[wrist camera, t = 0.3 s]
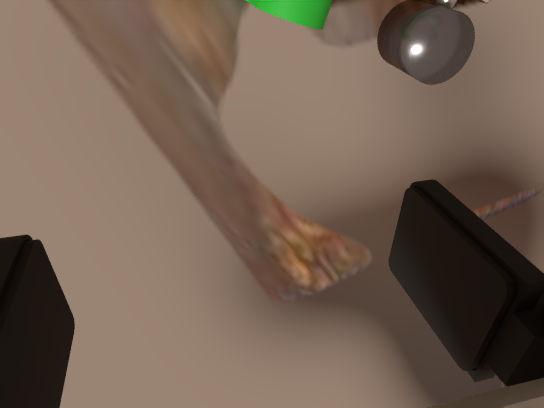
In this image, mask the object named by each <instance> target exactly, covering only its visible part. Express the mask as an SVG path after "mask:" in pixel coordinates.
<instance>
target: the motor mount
mask: <svg viewBox="0 0 544 408" xmlns="http://www.w3.org/2000/svg"><path fill="white" fill-rule="evenodd" d="M457 1H458V0H436V2H435V3H434V4H430V3H427V2H423V1H419V0H407V1H404V2H402V3H400V4H398V5H397V6H395V7H394V8H393V9H392V10H391V11H390V12H389V13H388V14H387V15H386V17H385V18H384V20H383V22H382V24H381V26H380V29H379V33H378V39H377V44H378V50H379V53H380V55H381V56H382V58H383V59H384V60H385V61H386V62H387V63H389V64H391V65H393V66H395V67H396V68H398V69H400V70H401V71H403V72H405V73H406V74H408V75H410V76H412V77H414V78H415V79H417V80H419V81H420V82H422V83H425V84H431V85H432V84H439V83H442V82H445V81H447V80H448V79H450V78H451V77H453V76H454V75H455V74H456V73H458V72H459V71H460V69H461V68H462V67H463V66H464V64H465V63H466V62H467V60H468V58H469V56H470V54H471V52H472V49H473V45H474V39H475V34H474V33H475V32H474V27H473V24H472V22H471V20H470V18H469V17H468V16H467V15H465V14H464V13H462V12H459V11H456V10H452V9H453V7H454V6H455V4H456V2H457ZM474 1H479V2H483V3H488V1H489V0H474Z"/></svg>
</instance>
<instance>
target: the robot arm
mask: <svg viewBox="0 0 544 408" xmlns="http://www.w3.org/2000/svg"><path fill="white" fill-rule="evenodd" d="M389 267H390V270H391V271H392V273H393V274H394V276H395V277H396V279H397V280H398V281H399V283H400V284H401V286H402V287H403V288H404V290H405V291H406V293H407V294H408V295H409V297H410V298H411V300H412V301H413V303H414V304H415V305H416V307H417V308H418V310H419V311H420V313H421V314H422V315H423V317H424V318H425V319H426V321H427V322H428V324H429V325H430V327H431V328H432V329H433V331H434V332H435V334H436V335H437V336H438V338H439V339H440V340H441V342H442V344H443V345H444V346H445V348H446V349H447V351H448V352H449V353H450V355H451V356H452V358H453V359H454V360H455V362H456V363H457V365H458V366H459V367H460V368H461V369H462V370H465V371H467V372H468V373H469V374H470V376H471V377H472V379H473V380H474V381H475V382H478V381H482V380H486V379H489V378H493V377H494V376H495V374H496V375H497V376H498V377H499V379H500V380H501V381H502V388H500V389H496V390H493V391H489V392H485V393H481V394H478V395H474V396H470V397H466V398H463V399H459V400H455V401H451V402H448V403H444V404H440V405H436V406H432V407H429V408H544V273H542V272H541V271H540V270H539V269H538V268H536V266H534V265H533V264H532V263H531V262H530V261H529V260H527V259H526V258H525V257H524V256H523V255H522V254H520V253H519V252H518V251H517V250H516V249H515V248H514V247H512V246H511V245H510V244H509V243H508V242H507V241H506V240H504V239H503V238H502V237H501V236H500V235H499V234H498V233H496V232H495V231H494V230H493V229H492V228H491V227H489V226H488V225H487V224H486V223H485V222H484V221H483V220H481V219H480V218H479V217H478V216H477V215H476V214H474V213H473V212H472V211H471V210H470V209H469V208H467V207H466V206H465V205H464V204H463V203H462V202H460V201H459V200H458V199H457V198H456V197H455V196H454V195H452V194H451V193H450V192H449V191H448V190H447V189H446V188H444V187H443V186H442V185H441V184H440V183H439V182H437V181H436V180H426V181H418V182H414V183H412V184H411V186H410V188H408V189H407V190H406V191H405V194H404V198H403V202H402V207H401V211H400V215H399V219H398V223H397V228H396V231H395V236H394V240H393V244H392V248H391V252H390V256H389ZM74 326H75V325H74V317H73V315H72V312H71V310H70V308H69V305H68V303H67V301H66V298H65V296H64V293H63V291H62V289H61V286H60V284H59V282H58V279H57V277H56V275H55V272H54V270H53V268H52V265H51V263H50V261H49V258H48V256H47V254H46V251H45V249H44V247H43V244H42V242H41V241H40V240H32V238H31V237H30V236H29V235H21V236H13V237H6V238H0V408H59V407H60V402H61V396H62V392H63V386H64V381H65V376H66V371H67V366H68V361H69V356H70V350H71V345H72V340H73V335H74V329H75V327H74Z"/></svg>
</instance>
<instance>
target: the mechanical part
mask: <svg viewBox="0 0 544 408" xmlns="http://www.w3.org/2000/svg"><path fill="white" fill-rule="evenodd" d="M246 1H248V2H250V3H251V4H252V5H254V6H255V7H257V8H258V9H260V10H263V11H265V12H267V13H269V14H272V15H275V16H277V17H280V18H282V19H285V20H288V21H291V22H294V23H297V24H300V25H303V26H307V27H311V28H315V29H321V30H322V29H323V27H324V24H325V21H326V18H327V15H328V12H329V10H330V7H331V4H332V0H246Z"/></svg>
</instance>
